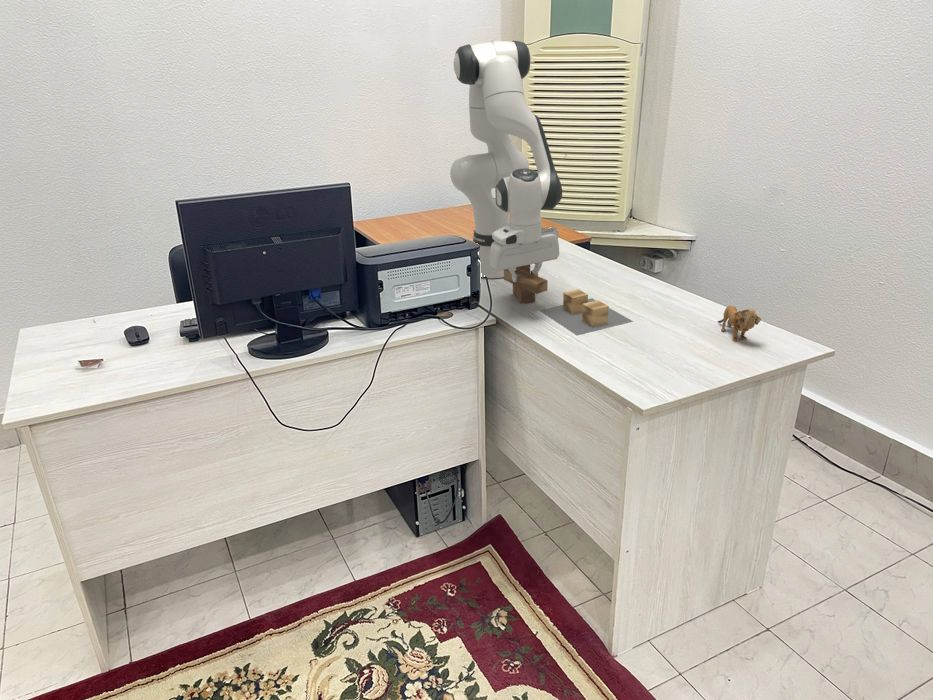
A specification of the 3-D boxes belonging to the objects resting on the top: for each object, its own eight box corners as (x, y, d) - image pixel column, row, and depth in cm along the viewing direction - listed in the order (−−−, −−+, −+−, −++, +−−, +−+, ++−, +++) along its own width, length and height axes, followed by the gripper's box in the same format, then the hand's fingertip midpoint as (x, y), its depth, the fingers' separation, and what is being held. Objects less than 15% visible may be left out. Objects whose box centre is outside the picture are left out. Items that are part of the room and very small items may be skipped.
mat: (539, 311, 195) (539, 310, 195) (592, 299, 201) (592, 298, 201) (576, 336, 179) (576, 335, 178) (633, 322, 185) (633, 321, 185)
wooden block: (535, 303, 201) (535, 244, 193) (521, 305, 200) (519, 246, 193) (526, 293, 209) (525, 236, 201) (512, 294, 208) (511, 237, 201)
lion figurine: (760, 344, 169) (765, 311, 165) (741, 347, 168) (746, 314, 164) (726, 322, 182) (729, 291, 178) (708, 325, 181) (711, 293, 177)
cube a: (563, 308, 195) (563, 292, 193) (578, 305, 197) (578, 289, 195) (572, 314, 191) (572, 297, 189) (587, 310, 193) (588, 294, 191)
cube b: (582, 320, 187) (582, 303, 185) (597, 316, 189) (598, 300, 186) (592, 326, 183) (592, 309, 181) (607, 323, 184) (608, 306, 182)
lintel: (536, 294, 185) (536, 283, 183) (503, 279, 195) (503, 269, 194) (547, 290, 187) (547, 280, 185) (514, 276, 197) (514, 266, 196)
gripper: (552, 222, 190) (551, 268, 196) (486, 234, 183) (487, 282, 189) (564, 228, 185) (563, 275, 191) (496, 240, 178) (497, 289, 184)
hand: (525, 279), depth 190 cm, fingers closed on lintel, 4 cm apart
